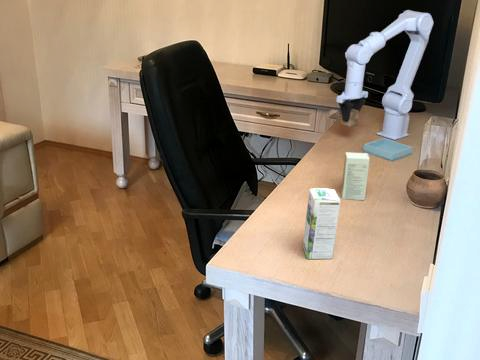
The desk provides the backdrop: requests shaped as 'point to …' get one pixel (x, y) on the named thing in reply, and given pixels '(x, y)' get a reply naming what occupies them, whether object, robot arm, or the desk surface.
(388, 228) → the desk surface
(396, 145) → the tray
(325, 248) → the syrup box
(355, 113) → the walnut block
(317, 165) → the desk surface
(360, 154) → the skincare box
